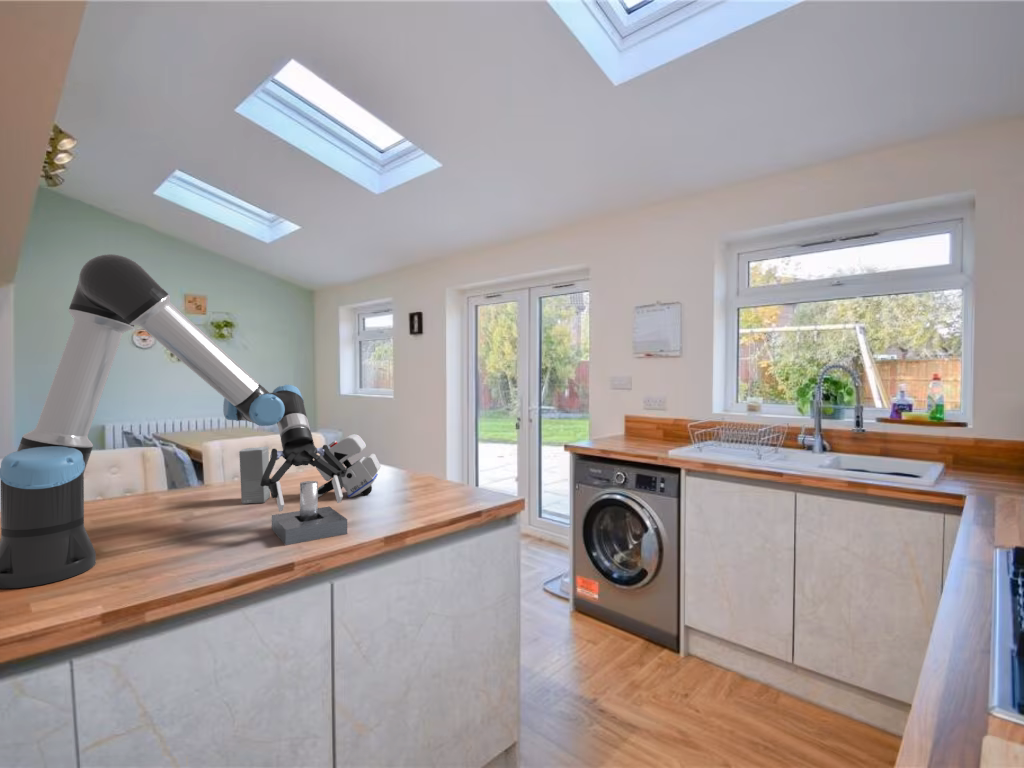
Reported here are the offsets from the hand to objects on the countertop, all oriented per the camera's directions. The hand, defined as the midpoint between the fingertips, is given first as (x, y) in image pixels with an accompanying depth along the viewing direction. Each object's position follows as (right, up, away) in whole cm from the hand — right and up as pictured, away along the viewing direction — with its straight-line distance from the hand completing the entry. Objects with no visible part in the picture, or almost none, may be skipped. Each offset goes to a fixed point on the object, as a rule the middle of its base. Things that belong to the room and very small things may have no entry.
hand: (311, 503), depth 121 cm
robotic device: (-4, -7, +38) cm, 39 cm away
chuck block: (-1, -7, +2) cm, 8 cm away
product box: (-29, -6, +30) cm, 42 cm away
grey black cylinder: (-2, -7, +2) cm, 8 cm away
